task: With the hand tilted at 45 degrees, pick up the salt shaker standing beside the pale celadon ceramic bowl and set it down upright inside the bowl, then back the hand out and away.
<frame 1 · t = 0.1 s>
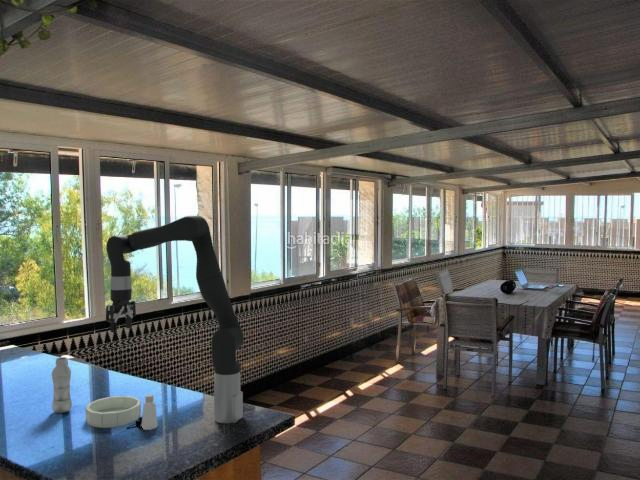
hand: (121, 330, 203), 29 cm above the counter, tool pointing down, fingers open, 8 cm apart
bowl: (113, 418, 191), on the counter
salt shaker: (149, 427, 184), on the counter
plastic bottle: (62, 412, 197), on the counter
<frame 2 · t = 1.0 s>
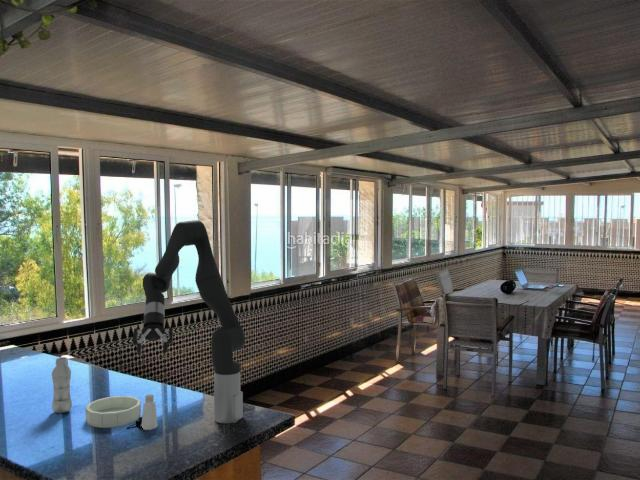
hand: (152, 353, 194), 23 cm above the counter, tool tilted 45°, fingers open, 8 cm apart
nothing on the counter moved.
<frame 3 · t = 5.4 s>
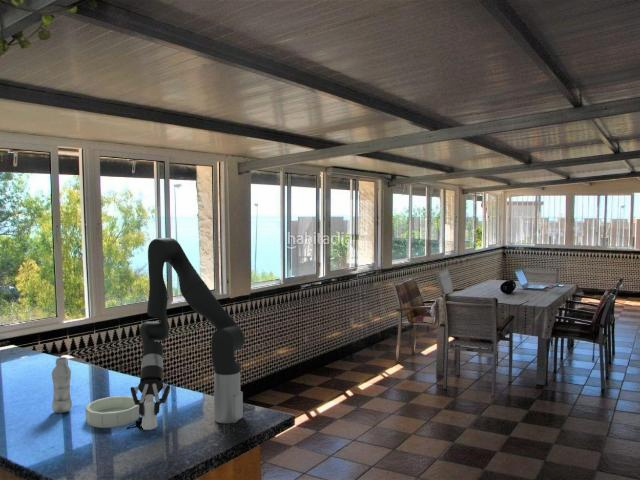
hand: (149, 414, 181), 5 cm above the counter, tool tilted 45°, fingers closed on salt shaker, 4 cm apart
salt shaker: (149, 427, 184), on the counter, touching gripper
everything else where it was.
when the fingers open (7 cm above the counter, at t = 10.3 s): salt shaker drops 1 cm, resting on bowl.
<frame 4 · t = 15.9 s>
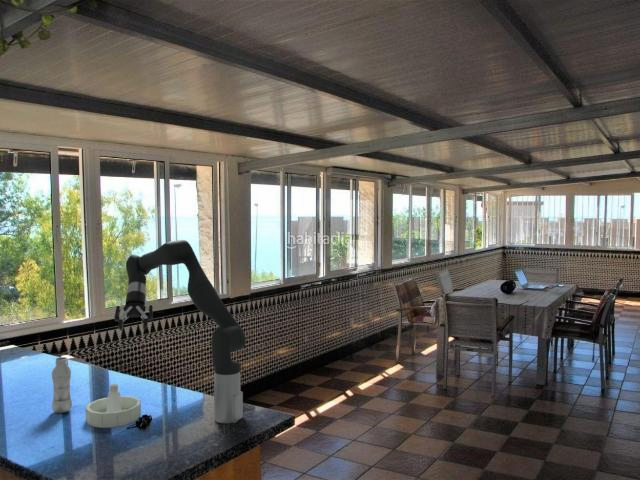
hand: (132, 329, 208), 29 cm above the counter, tool tilted 45°, fingers open, 8 cm apart
salt shaker: (114, 415, 192), point 1 cm above the counter, touching bowl
everything else where it was.
at the end: salt shaker inside the target area on the bowl (0.2 cm from its centre), point 0.8 cm above the bowl's base; salt shaker tilted 0°; the gripper is holding nothing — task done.
